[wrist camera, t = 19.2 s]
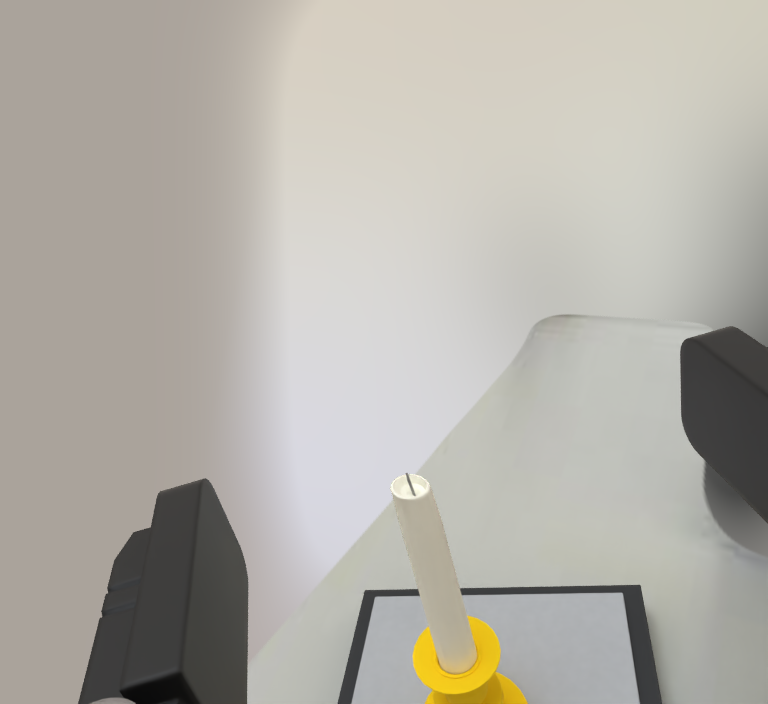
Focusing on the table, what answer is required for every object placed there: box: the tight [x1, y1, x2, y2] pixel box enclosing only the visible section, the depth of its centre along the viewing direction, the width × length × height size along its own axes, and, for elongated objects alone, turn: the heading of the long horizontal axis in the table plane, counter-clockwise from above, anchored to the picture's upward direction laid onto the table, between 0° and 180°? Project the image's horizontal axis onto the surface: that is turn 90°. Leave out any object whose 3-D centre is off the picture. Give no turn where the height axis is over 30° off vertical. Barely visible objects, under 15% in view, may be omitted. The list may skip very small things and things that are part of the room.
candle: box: [390, 473, 528, 704], centre depth 28 cm, size 5×5×16 cm
